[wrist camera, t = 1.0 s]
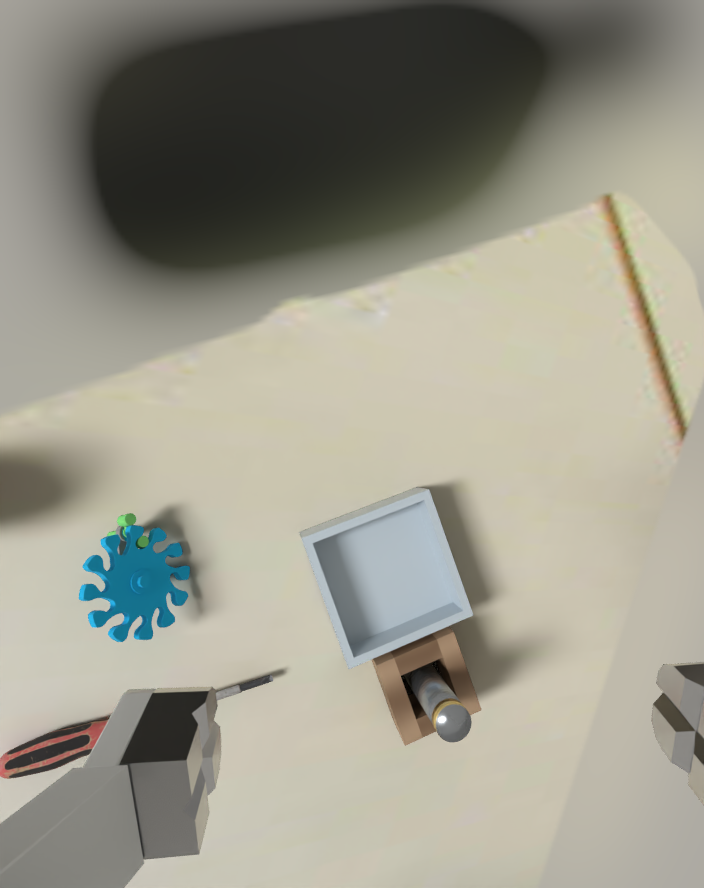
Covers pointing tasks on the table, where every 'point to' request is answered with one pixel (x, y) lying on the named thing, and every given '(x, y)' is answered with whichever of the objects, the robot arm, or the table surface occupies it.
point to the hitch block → (416, 655)
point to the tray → (386, 575)
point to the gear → (134, 580)
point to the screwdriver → (74, 743)
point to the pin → (439, 703)
